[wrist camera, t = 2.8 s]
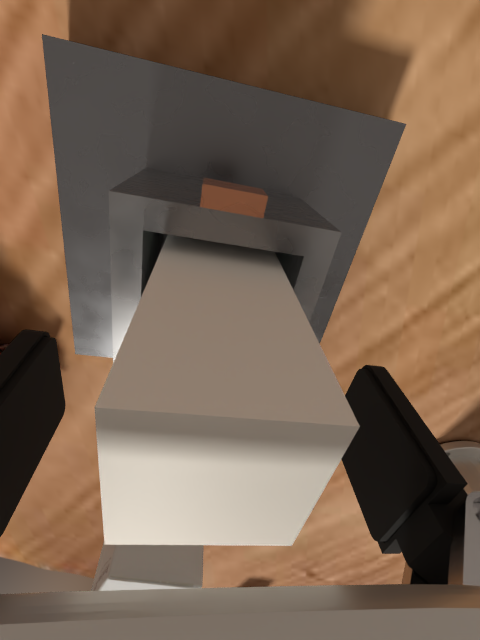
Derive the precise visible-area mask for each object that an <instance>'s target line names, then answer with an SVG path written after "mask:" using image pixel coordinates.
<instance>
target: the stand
mask: <svg viewBox="0 0 480 640" xmlns="http://www.w3.org/2000/svg"><path fill="white" fill-rule="evenodd" d="M42 40H43V49H44V59H45V68H46V78H47V87H48V97H49V107H50V116H51V126H52V135H53V145H54V154H55V164H56V173H57V183H58V192H59V202H60V211H61V221H62V231H63V240H64V250H65V259H66V269H67V278H68V288H69V297H70V307H71V316H72V326H73V336H74V345H75V354H81V355H91V356H101V357H111V358H113V363H114V360H115V358H116V356H117V353H118V351H119V349H120V346H121V344H122V342H123V339H124V337H125V334H126V332H127V330H128V327H129V325H130V323H131V320H132V318H133V316H134V313H135V311H136V308H137V306H138V304H139V301H140V299H141V297H142V294H143V292H144V290H145V287H146V285H147V282H148V280H149V278H150V275H151V273H152V271H153V268H154V266H155V264H156V261H157V259H158V256H159V254H160V252H161V249H162V247H163V245H164V242H165V240H166V238H167V235H168V234H169V235H175V236H181V237H188V238H194V239H200V240H206V241H212V242H219V243H225V244H231V245H237V246H243V247H249V248H256V249H262V250H268V251H274V252H275V254H276V256H277V258H278V260H279V262H280V264H281V266H282V268H283V270H284V272H285V274H286V276H287V278H288V280H289V282H290V284H291V286H292V288H293V291H294V293H295V295H296V297H297V299H298V301H299V303H300V305H301V307H302V309H303V311H304V313H305V315H306V317H307V319H308V321H309V323H310V325H311V327H312V329H313V332H314V334H315V336H316V338H317V340H318V342H319V344H320V342H321V339H322V337H323V334H324V332H325V329H326V326H327V324H328V321H329V319H330V316H331V314H332V311H333V309H334V306H335V304H336V301H337V299H338V296H339V293H340V291H341V288H342V286H343V283H344V281H345V278H346V276H347V273H348V271H349V268H350V266H351V263H352V260H353V258H354V255H355V253H356V250H357V248H358V245H359V243H360V240H361V238H362V235H363V232H364V230H365V227H366V225H367V222H368V220H369V217H370V215H371V212H372V210H373V207H374V205H375V202H376V199H377V197H378V194H379V192H380V189H381V187H382V184H383V182H384V179H385V177H386V174H387V172H388V169H389V166H390V164H391V161H392V159H393V156H394V154H395V151H396V149H397V146H398V144H399V141H400V138H401V136H402V133H403V131H404V128H405V126H406V124H404V123H400V122H396V121H392V120H388V119H384V118H380V117H376V116H372V115H368V114H363V113H359V112H355V111H351V110H347V109H343V108H339V107H335V106H331V105H327V104H323V103H319V102H315V101H311V100H307V99H303V98H299V97H295V96H291V95H286V94H282V93H278V92H274V91H270V90H266V89H262V88H258V87H254V86H250V85H246V84H242V83H238V82H234V81H230V80H226V79H222V78H218V77H213V76H209V75H205V74H201V73H197V72H193V71H189V70H185V69H181V68H177V67H173V66H169V65H165V64H161V63H157V62H153V61H149V60H145V59H141V58H136V57H132V56H128V55H124V54H120V53H116V52H112V51H108V50H104V49H100V48H96V47H92V46H88V45H84V44H80V43H76V42H72V41H68V40H63V39H59V38H55V37H51V36H47V35H43V34H42Z"/></svg>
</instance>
